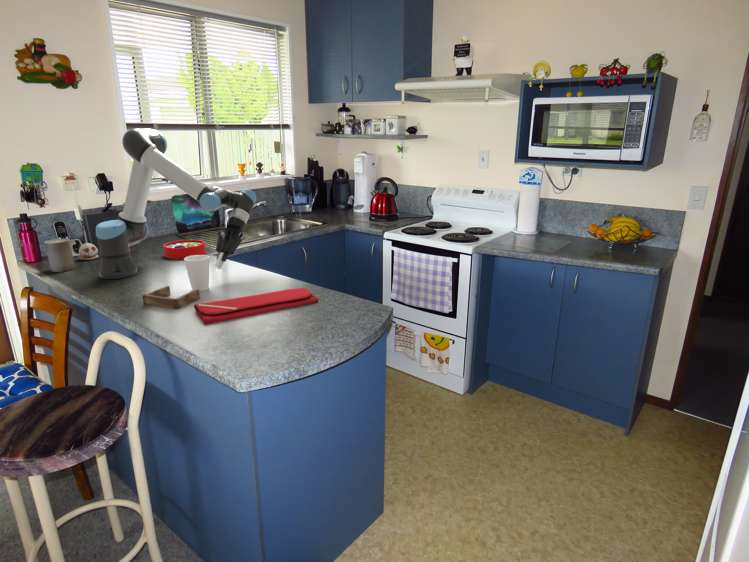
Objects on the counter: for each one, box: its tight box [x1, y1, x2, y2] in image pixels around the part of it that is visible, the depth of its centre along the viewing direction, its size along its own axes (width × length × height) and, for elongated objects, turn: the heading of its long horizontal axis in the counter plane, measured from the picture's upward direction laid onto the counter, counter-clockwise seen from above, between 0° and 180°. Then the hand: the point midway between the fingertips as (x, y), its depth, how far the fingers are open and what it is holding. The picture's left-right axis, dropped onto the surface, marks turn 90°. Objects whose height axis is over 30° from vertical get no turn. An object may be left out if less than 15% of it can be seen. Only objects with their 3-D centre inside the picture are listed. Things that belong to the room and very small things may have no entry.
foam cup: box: [183, 254, 211, 293], centre depth 190 cm, size 10×9×13 cm
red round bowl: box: [163, 239, 207, 260], centre depth 248 cm, size 20×6×20 cm
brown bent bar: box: [141, 285, 201, 310], centre depth 178 cm, size 12×15×4 cm
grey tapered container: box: [44, 238, 76, 273], centre depth 220 cm, size 10×10×15 cm
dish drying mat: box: [193, 287, 319, 325], centre depth 172 cm, size 16×41×4 cm, turn 122°
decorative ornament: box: [78, 229, 100, 261], centre depth 239 cm, size 8×8×15 cm
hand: (217, 267), depth 200 cm, fingers closed
